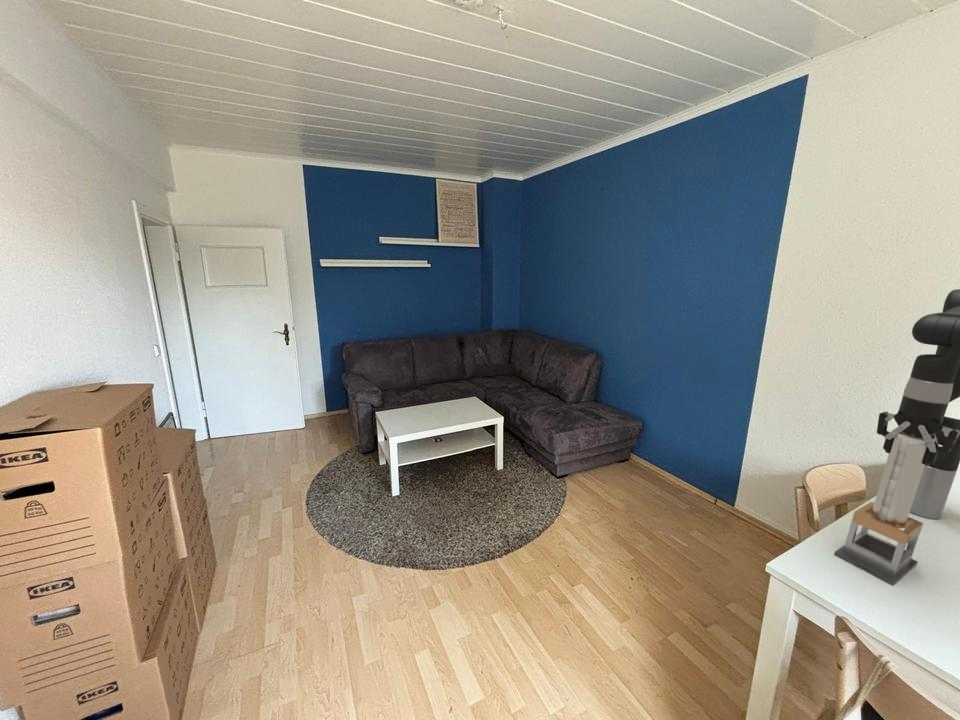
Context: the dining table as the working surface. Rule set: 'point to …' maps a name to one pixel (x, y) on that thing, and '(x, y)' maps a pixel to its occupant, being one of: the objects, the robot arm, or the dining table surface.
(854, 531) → the collar stand
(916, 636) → the dining table surface
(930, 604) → the dining table surface
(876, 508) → the grey cylinder
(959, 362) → the robot arm
